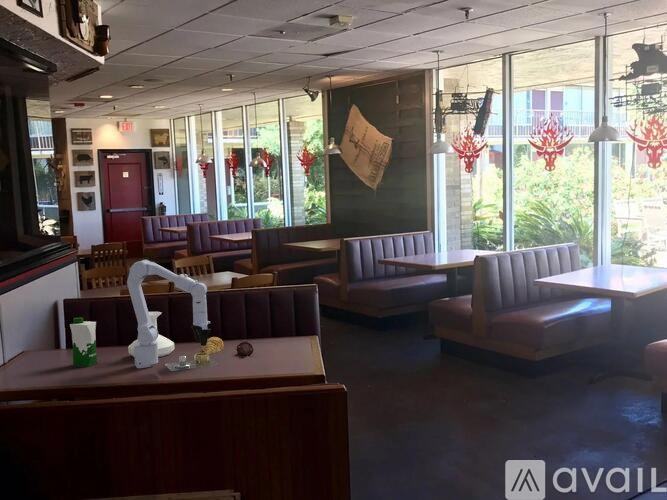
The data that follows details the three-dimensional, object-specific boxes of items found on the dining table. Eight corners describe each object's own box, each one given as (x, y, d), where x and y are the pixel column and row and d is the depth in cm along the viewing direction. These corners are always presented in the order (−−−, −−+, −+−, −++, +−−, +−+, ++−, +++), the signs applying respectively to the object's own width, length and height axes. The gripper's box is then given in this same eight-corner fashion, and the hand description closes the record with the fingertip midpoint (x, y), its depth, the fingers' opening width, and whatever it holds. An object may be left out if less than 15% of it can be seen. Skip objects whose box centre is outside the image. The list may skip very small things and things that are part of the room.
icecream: (255, 345, 290) (255, 341, 304) (237, 341, 289) (238, 338, 304) (251, 361, 289) (251, 356, 304) (234, 357, 288) (235, 353, 303)
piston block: (171, 374, 269) (170, 361, 269) (164, 366, 282) (163, 354, 282) (220, 367, 278) (220, 355, 277) (211, 360, 290) (211, 348, 290)
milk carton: (81, 362, 295) (79, 316, 294) (100, 362, 293) (98, 316, 292) (69, 366, 286) (67, 319, 285) (89, 367, 285) (86, 320, 283)
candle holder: (120, 361, 294) (117, 317, 293) (141, 351, 314) (139, 310, 313) (163, 362, 291) (161, 317, 289) (182, 351, 310) (180, 310, 309)
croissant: (214, 364, 298) (222, 348, 298) (194, 354, 298) (201, 338, 298) (223, 353, 320) (231, 338, 319) (204, 343, 319) (211, 328, 319)
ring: (196, 363, 281) (196, 356, 281) (193, 360, 286) (193, 353, 286) (210, 361, 284) (210, 354, 283) (207, 359, 289) (206, 352, 289)
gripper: (214, 313, 279) (215, 346, 280) (205, 308, 292) (206, 340, 293) (196, 314, 276) (198, 347, 277) (188, 310, 289) (190, 341, 290)
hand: (201, 344), depth 285 cm, fingers open, 7 cm apart
